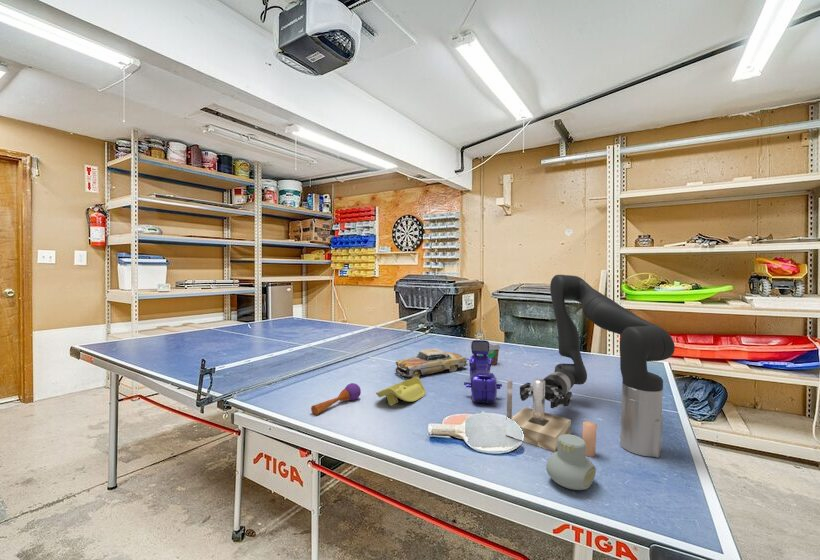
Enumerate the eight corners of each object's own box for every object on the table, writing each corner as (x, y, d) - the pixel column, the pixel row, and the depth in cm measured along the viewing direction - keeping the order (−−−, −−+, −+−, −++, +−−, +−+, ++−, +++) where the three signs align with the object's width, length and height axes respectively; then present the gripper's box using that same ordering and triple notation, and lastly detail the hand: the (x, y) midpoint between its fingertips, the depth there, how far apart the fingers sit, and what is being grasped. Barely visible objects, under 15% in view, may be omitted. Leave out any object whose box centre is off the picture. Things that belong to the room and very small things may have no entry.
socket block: (570, 432, 108) (572, 379, 107) (554, 452, 97) (556, 392, 96) (524, 419, 117) (525, 370, 116) (505, 435, 106) (506, 381, 105)
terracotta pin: (596, 452, 97) (597, 423, 96) (593, 458, 94) (595, 428, 94) (583, 448, 99) (584, 420, 98) (580, 453, 96) (581, 424, 96)
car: (391, 373, 163) (391, 351, 162) (453, 363, 180) (453, 343, 179) (405, 382, 152) (405, 358, 151) (469, 370, 169) (470, 348, 168)
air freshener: (563, 465, 91) (564, 426, 90) (598, 480, 85) (599, 438, 84) (541, 483, 83) (543, 441, 83) (578, 501, 77) (580, 455, 77)
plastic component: (399, 382, 144) (420, 375, 140) (406, 401, 143) (427, 394, 138) (370, 395, 127) (393, 387, 123) (377, 416, 125) (400, 408, 121)
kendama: (307, 401, 121) (351, 380, 137) (310, 418, 121) (354, 396, 137) (318, 402, 117) (362, 381, 133) (321, 420, 117) (365, 397, 133)
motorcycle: (463, 375, 162) (463, 336, 161) (494, 376, 160) (495, 337, 159) (464, 406, 127) (464, 357, 126) (504, 409, 125) (505, 358, 124)
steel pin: (545, 433, 107) (546, 380, 106) (541, 437, 105) (542, 383, 104) (534, 430, 109) (535, 377, 108) (530, 434, 107) (531, 380, 106)
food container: (471, 362, 180) (471, 342, 180) (477, 360, 185) (478, 340, 184) (493, 367, 172) (493, 346, 171) (499, 365, 176) (500, 344, 176)
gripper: (533, 370, 122) (513, 382, 109) (579, 379, 113) (562, 394, 100) (533, 392, 122) (512, 407, 109) (578, 403, 113) (562, 420, 100)
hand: (536, 401), depth 105 cm, fingers open, 8 cm apart
